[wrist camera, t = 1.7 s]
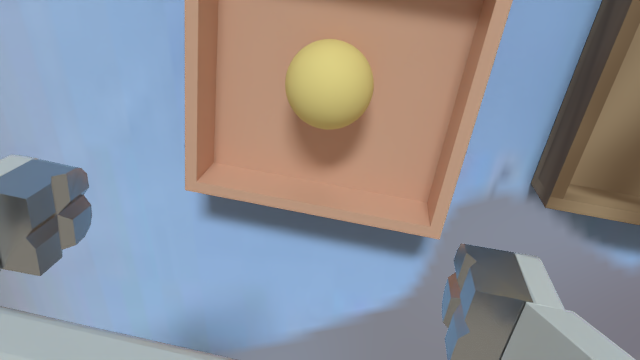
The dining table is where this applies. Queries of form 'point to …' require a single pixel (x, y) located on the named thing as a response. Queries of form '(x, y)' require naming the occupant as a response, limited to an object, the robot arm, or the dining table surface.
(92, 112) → the dining table surface
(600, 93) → the tray
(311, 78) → the ball
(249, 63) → the dish
